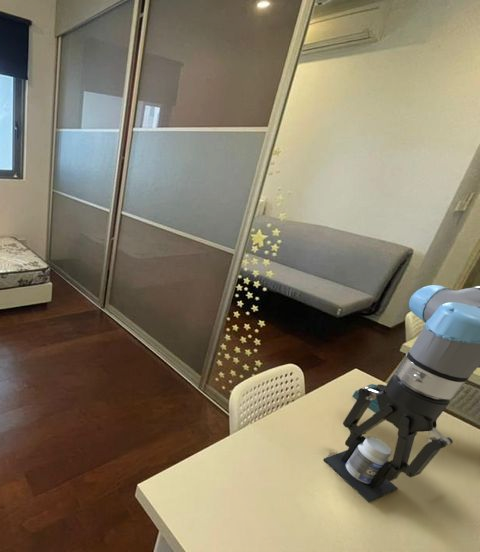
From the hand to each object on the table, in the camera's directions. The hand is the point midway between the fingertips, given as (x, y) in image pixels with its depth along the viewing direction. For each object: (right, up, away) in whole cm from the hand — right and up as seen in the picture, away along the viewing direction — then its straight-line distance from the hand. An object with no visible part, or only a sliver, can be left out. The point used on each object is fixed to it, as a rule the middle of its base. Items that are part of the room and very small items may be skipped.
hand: (360, 471), depth 66 cm
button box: (+22, +6, +20) cm, 30 cm away
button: (+23, +9, +19) cm, 31 cm away
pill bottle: (0, 0, 0) cm, 1 cm away
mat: (0, -1, 0) cm, 1 cm away
